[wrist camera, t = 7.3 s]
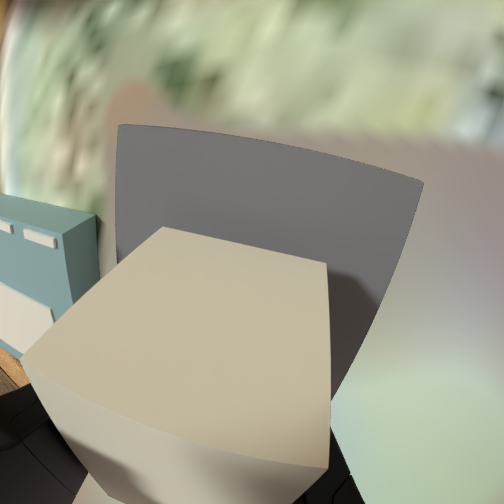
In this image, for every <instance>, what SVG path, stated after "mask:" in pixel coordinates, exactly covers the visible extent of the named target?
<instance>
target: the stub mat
mask: <svg viewBox="0 0 504 504" xmlns="http://www.w3.org/2000/svg"><path fill="white" fill-rule="evenodd" d="M423 185H424V183H423V182H422V181H420V180H418V179H415V178H411V177H408V176H405V175H402V174H399V173H396V172H392V171H389V170H386V169H382V168H379V167H376V166H372V165H368V164H365V163H361V162H358V161H354V160H350V159H346V158H342V157H338V156H334V155H330V154H326V153H321V152H317V151H313V150H309V149H304V148H299V147H295V146H290V145H285V144H280V143H275V142H269V141H264V140H258V139H252V138H246V137H240V136H234V135H227V134H220V133H213V132H206V131H197V130H189V129H180V128H170V127H158V126H146V125H132V124H122V125H118V137H117V152H116V177H115V227H116V251H117V265H118V264H119V263H120V262H121V261H122V260H123V259H124V258H126V257H127V256H128V255H129V254H130V253H131V252H133V251H134V250H135V249H136V248H137V247H138V246H140V245H141V244H142V243H143V242H144V241H146V240H147V239H148V238H149V237H150V236H152V235H153V234H154V233H155V232H156V231H158V230H159V229H160V228H161V227H167V228H172V229H176V230H181V231H185V232H190V233H195V234H199V235H204V236H208V237H212V238H217V239H221V240H226V241H230V242H235V243H239V244H244V245H248V246H253V247H257V248H262V249H266V250H270V251H275V252H279V253H284V254H288V255H293V256H297V257H301V258H306V259H310V260H315V261H319V262H323V263H326V265H327V280H328V298H329V320H330V354H331V400H332V398H333V397H334V395H335V393H336V392H337V390H338V388H339V386H340V384H341V382H342V381H343V379H344V377H345V375H346V373H347V372H348V370H349V368H350V366H351V364H352V362H353V360H354V359H355V356H356V355H357V353H358V350H359V349H360V347H361V344H362V343H363V341H364V339H365V337H366V335H367V332H368V330H369V328H370V326H371V324H372V322H373V320H374V317H375V315H376V313H377V311H378V308H379V306H380V304H381V302H382V300H383V297H384V295H385V292H386V290H387V288H388V285H389V283H390V281H391V278H392V276H393V273H394V271H395V268H396V265H397V263H398V260H399V258H400V255H401V252H402V249H403V247H404V244H405V241H406V238H407V236H408V233H409V229H410V227H411V224H412V221H413V218H414V215H415V212H416V208H417V205H418V202H419V199H420V195H421V192H422V188H423Z"/></svg>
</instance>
